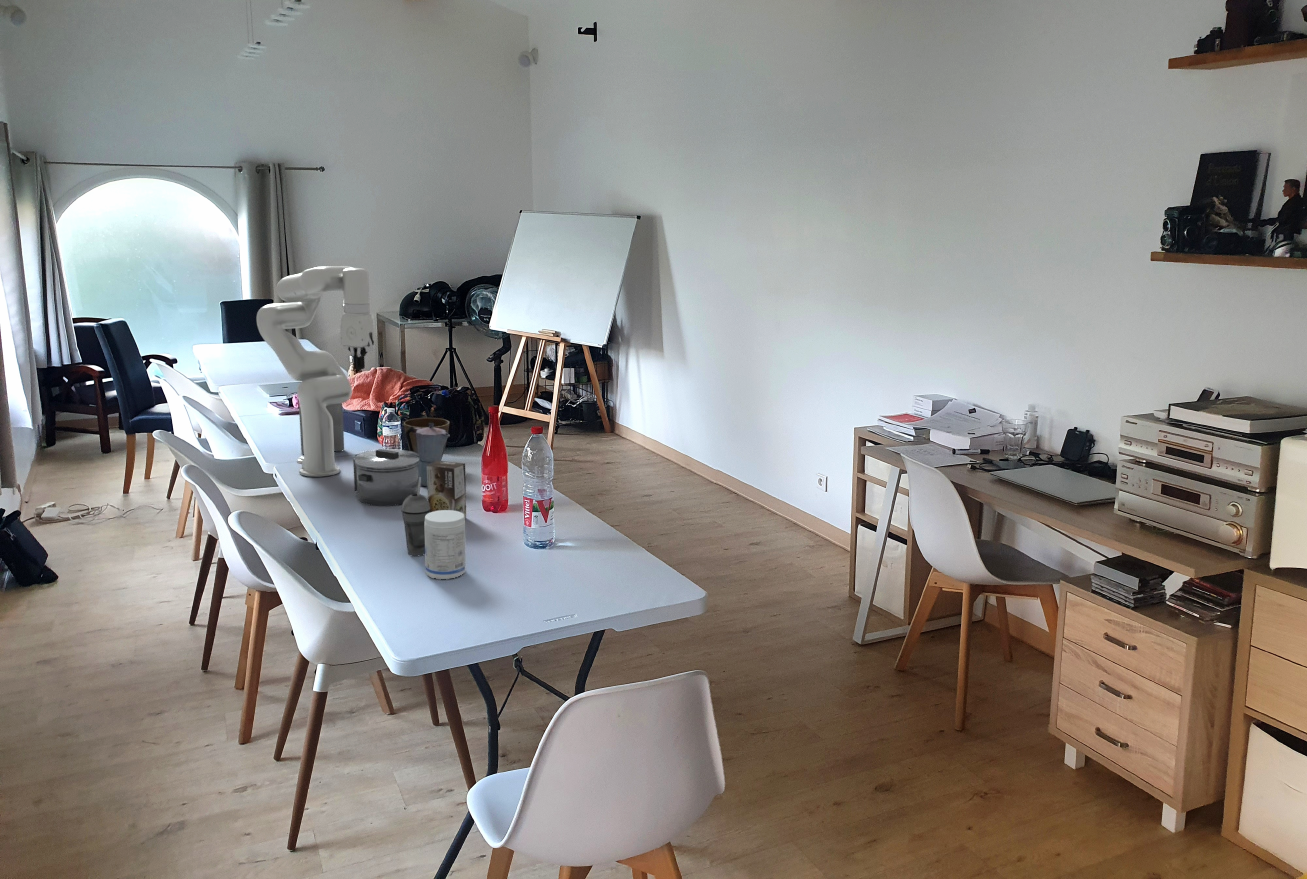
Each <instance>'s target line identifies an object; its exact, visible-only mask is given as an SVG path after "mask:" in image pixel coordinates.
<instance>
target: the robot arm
mask: <svg viewBox="0 0 1307 879" xmlns="http://www.w3.org/2000/svg"><path fill="white" fill-rule="evenodd" d="M369 281H370V280H369V272H368V270H367V269H365V268H361V267H352V266H349V265H341V266H340V265H338V266H337V265H336V266H335V265H334V266H332V265H331V266H330V265H329V266H317V267H316V266H315V267H313V268H308V269H305V270H303V271H302V272H300V273H297V274H291V275H288V276H285V277H283V278H281V279H280V280H279V281H278V282H277V285H276V288H275V289H276V290H275V292H276V294H277V296H278V297H279V298H280V299H281V300H283V301H284V302H281V303H279V302H278V303H269V304H266V305H264V306H262V307H260V309H258V311H257V313H256V326H257V329H258V332H259V334H260V336H261V337H262V339H263V341H264V342H265V343H266V344H267V345H268V346H269V347H270V348H271V349H272V351H273V352H274V353H275V354H276V356H277V357H278V360H279V361H280V363H281V365H282V366H283V368H284V370H285V371H286V373H287V374H288V375H289V376H290V378H291V379H293V381H296V382H300V383H299V384H298V385H297V389H296V395H297V399H298V403H299V405H300V408H301V415H302V428H303V447H304V455H303V456H300V457H299V458H298V459H297V461H296V463H297V464H299V465H302V466H301V468H300V469H299V474H300V475H302V476H304V477H311V478H312V477H313V478H317V477H318V478H320V477H329V476H333V475H334V476H335V475H337V474H339V473H341V468H340V467H339V466H338V465H336V463H335V462H336V461H335V460H336V459H335V452H334V435H333V419H332V416H331V414H330V413H329V412H328V410H327V409H326V406H328V405H333V404H339V403H342V404H344V403H346V402H348V401H349V400H350V399H351V397H352V395H353V390H352V388H353V387H352V384H351V383H350V380H349V378H348V376H347V375H346V373H345V372H344V371H343V369H342V368H341V366H340V365H339V364H340V363H338V361H337V360H336V358H335V357H334V356H333V354H331V353H330V352H328V351H327V350H321V349H320V350H307V349H305V347H304V346H303V345H302V343H301V341H300V340H299V339H298V338H297V337H296V336H294V335H293V334H292V333H290V332H288V331H287V330H289V329H301V328H305V327H308V326H309V325H310V324H312V321H313V320H314V318H315V315H316V313H317V311H318V308H319V306H320V304H321V301H322V299H323V295H324V292H327V293H329V292H343V304H342V306H341V307H342V309H343V313H342V314H341V318H340V325H339V327H340V328H339V343H340V344H341V346H343V349H345V350H347V351H348V352H350V356H352V359H353V360H352V363H353V367H352V368H353V370H358V371H359V370H364V369H365V367H366V366H365V364H366V363H365V357H366V356H367V353H369V352H373V351H374V345H375V328H374V322H373V317H372V314H371V311H370V309H371V308H370V304H371V303H370V282H369Z"/></svg>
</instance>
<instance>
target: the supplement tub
mask: <svg viewBox="0 0 1307 879" xmlns="http://www.w3.org/2000/svg"><path fill="white" fill-rule="evenodd" d="M465 519H466V518H464V514H463V513H461V512H459V511H453V510H439V511H434V512H430V513H428V514H427V515H426V516H425V522H424V523H425V524H424V526H425V555H424V559H425V560H424V563H425V565H424V567H425V570H424V571H425V574H426V575H427V576H428V577H429V578H432V579H434V578H436V579H435V580H441V579H446V580H450V579H449V578H454V579H456V578H455V577H457V578H459V577H458V576H460V575H461V576H463V575H464V574H465V573H466V520H465ZM463 573H464V574H463ZM462 574H463V575H462ZM461 576H460V577H461Z"/></svg>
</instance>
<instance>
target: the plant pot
mask: <svg viewBox="0 0 1307 879" xmlns="http://www.w3.org/2000/svg"><path fill="white" fill-rule="evenodd" d="M429 423H434V425H433V428H439V429H443V430H445V431H446V432H447V433H448V434H449V428H450V421H449V420H447V419H444V418H438V417H437V418H436V417H418V418H412V419H411V418H410V419H407V420H405V421H404V422H403V426H404V432H405V434H406V431H407V430H408V429H409V428H410V426H412V427H415V428H420V429H422V428H429ZM409 435H410V438H411V443H412V448H413V450H414V452H416V453H418V448H417V438H416V434H415V433H413V432H410V433H409ZM447 440H448V439H447ZM447 440H446V442H445V444H444V447H443V453H442V459H443V456H444V453H445V450H446V445H447ZM406 441H407V440H406ZM407 445H408V449H409V450H408V451H410V447H409V444H408V441H407ZM442 459H441V461H443V460H442Z"/></svg>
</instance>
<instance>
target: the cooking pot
mask: <svg viewBox="0 0 1307 879" xmlns="http://www.w3.org/2000/svg"><path fill="white" fill-rule="evenodd" d="M352 460H353V483H354V492H357V494H356V495H357V501H358V503H361V504H362V505H367V506H373V507H391V506H392V507H393V506H394V507H395V506H402V505H403V502H404V500H405V499H406V498H407V497H408V496H410V495H412V494H418V484H419V476H418V464H419V463H417V464H415V465H413V466H410V467H405V468H399V469H368V468H363V467H359V466H357V465H356V464H355V458H353V459H352Z"/></svg>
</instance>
